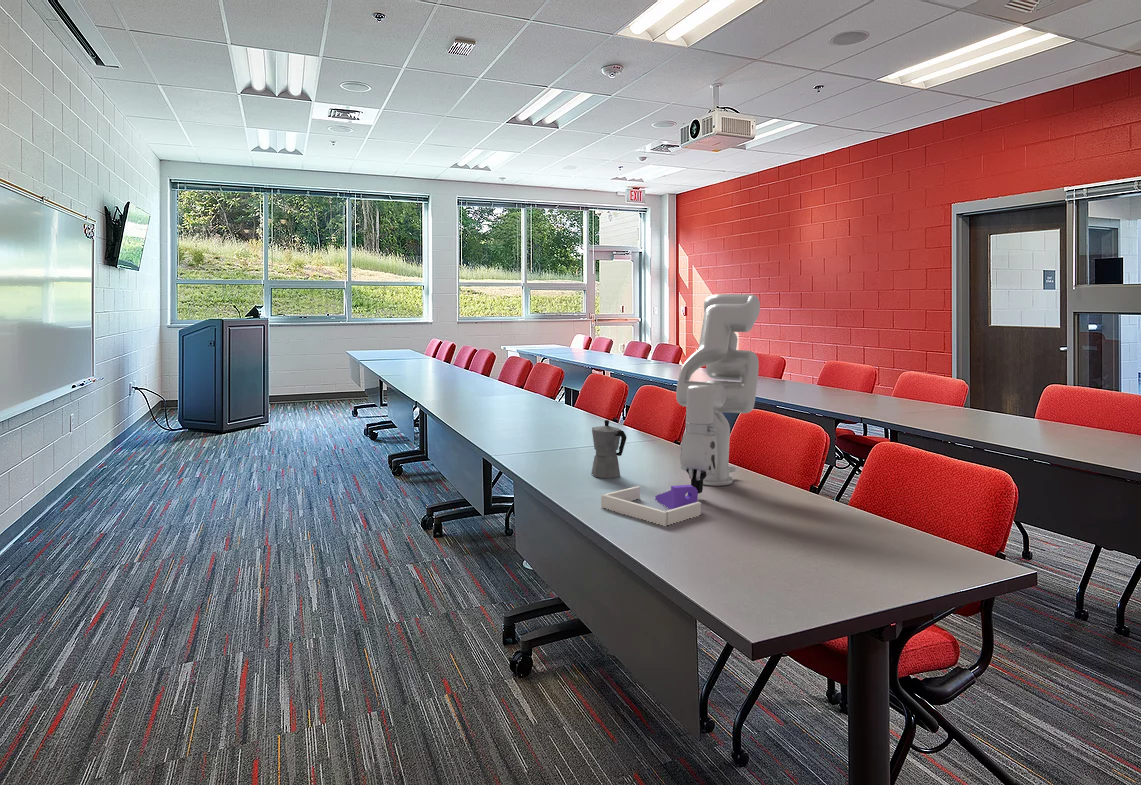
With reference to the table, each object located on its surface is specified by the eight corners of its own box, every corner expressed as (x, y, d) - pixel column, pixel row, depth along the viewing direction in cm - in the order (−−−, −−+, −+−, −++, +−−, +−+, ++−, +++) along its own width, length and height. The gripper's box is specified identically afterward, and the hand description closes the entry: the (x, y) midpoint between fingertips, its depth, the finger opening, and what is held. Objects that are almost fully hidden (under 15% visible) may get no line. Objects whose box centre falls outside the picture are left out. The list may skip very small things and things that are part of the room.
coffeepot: (581, 473, 228) (582, 418, 226) (602, 469, 234) (604, 416, 232) (613, 482, 216) (614, 425, 214) (635, 478, 222) (636, 422, 220)
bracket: (697, 511, 188) (697, 486, 187) (673, 513, 186) (674, 487, 185) (677, 499, 199) (678, 476, 199) (655, 501, 197) (655, 477, 197)
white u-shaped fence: (637, 498, 199) (637, 486, 198) (700, 515, 183) (700, 502, 183) (601, 507, 189) (601, 494, 189) (664, 526, 173) (665, 512, 173)
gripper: (729, 431, 194) (726, 495, 196) (686, 424, 205) (683, 485, 207) (713, 433, 189) (710, 500, 191) (669, 426, 200) (667, 489, 202)
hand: (696, 492), depth 199 cm, fingers closed
